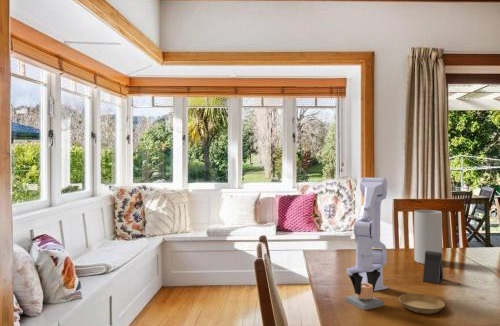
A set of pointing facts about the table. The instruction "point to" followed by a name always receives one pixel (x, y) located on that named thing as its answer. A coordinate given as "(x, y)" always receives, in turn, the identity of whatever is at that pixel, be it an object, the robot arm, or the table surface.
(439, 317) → the table surface
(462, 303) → the table surface
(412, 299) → the plant saucer
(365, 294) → the ring
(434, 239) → the cylinder vase
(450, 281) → the table surface
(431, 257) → the phone stand
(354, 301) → the post base
